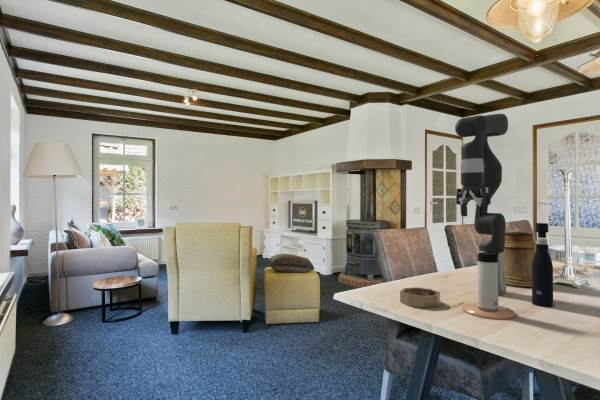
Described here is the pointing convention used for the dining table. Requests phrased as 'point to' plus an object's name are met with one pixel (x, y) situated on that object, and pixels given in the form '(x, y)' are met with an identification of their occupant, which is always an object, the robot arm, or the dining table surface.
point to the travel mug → (488, 281)
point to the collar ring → (420, 297)
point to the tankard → (518, 257)
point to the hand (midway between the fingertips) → (472, 216)
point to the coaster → (500, 314)
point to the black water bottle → (542, 270)
